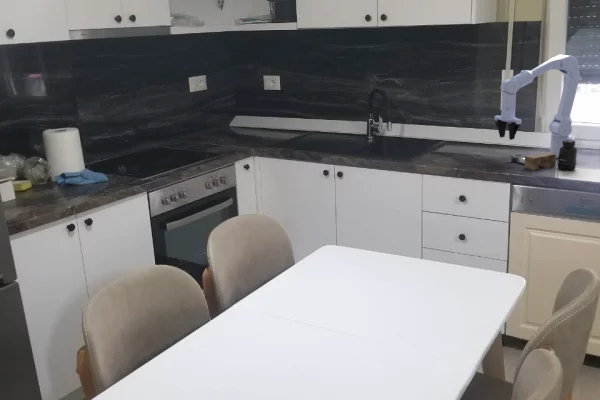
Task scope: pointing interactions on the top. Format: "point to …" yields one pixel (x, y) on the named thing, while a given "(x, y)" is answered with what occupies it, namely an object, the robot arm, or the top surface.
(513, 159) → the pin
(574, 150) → the supplement bottle
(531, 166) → the block
